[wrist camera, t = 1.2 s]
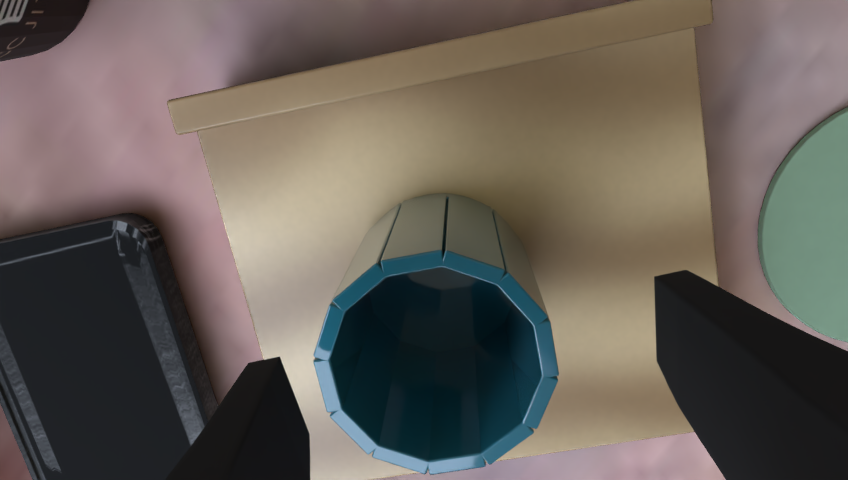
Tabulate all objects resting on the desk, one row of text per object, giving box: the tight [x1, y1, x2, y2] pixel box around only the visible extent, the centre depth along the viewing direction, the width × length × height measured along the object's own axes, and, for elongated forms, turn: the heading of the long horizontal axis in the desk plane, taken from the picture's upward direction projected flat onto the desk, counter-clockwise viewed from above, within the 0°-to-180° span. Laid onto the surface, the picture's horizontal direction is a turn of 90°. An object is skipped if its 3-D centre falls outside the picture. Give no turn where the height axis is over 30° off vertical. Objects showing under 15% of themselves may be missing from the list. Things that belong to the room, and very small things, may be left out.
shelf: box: [167, 0, 719, 480], centre depth 22 cm, size 14×15×5 cm
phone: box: [0, 213, 218, 480], centre depth 26 cm, size 8×1×15 cm
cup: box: [313, 193, 559, 475], centre depth 18 cm, size 5×5×6 cm
